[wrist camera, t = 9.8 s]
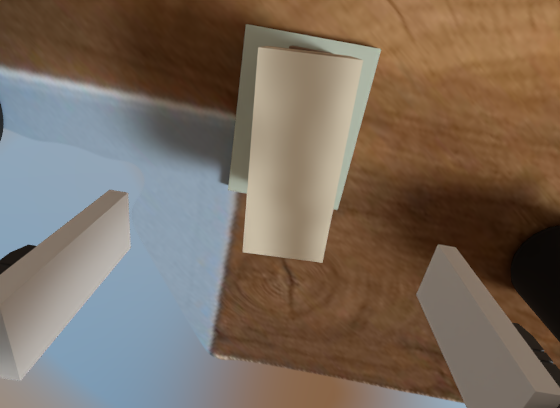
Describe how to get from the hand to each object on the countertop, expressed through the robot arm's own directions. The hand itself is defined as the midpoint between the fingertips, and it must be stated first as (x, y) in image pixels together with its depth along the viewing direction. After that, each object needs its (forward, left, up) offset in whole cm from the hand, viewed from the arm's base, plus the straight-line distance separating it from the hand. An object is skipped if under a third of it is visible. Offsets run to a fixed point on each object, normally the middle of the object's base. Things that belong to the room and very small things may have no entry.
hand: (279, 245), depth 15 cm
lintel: (0, 0, -15) cm, 15 cm away
